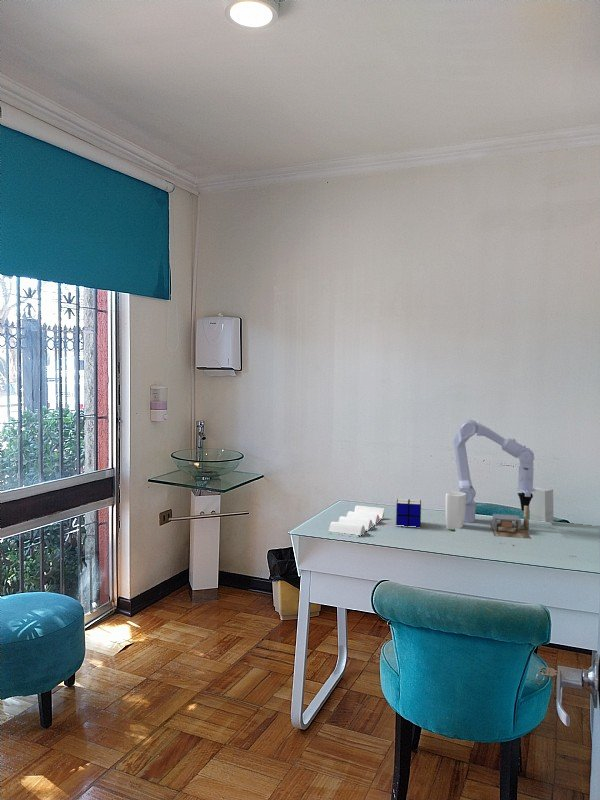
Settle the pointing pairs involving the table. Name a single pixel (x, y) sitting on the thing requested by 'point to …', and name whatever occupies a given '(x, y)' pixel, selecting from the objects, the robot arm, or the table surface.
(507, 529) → the slider
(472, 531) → the table surface
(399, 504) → the puzzle cube
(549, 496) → the skincare box
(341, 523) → the white ridged rack
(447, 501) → the cup
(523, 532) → the deck
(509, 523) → the block
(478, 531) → the table surface
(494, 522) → the tunnel
